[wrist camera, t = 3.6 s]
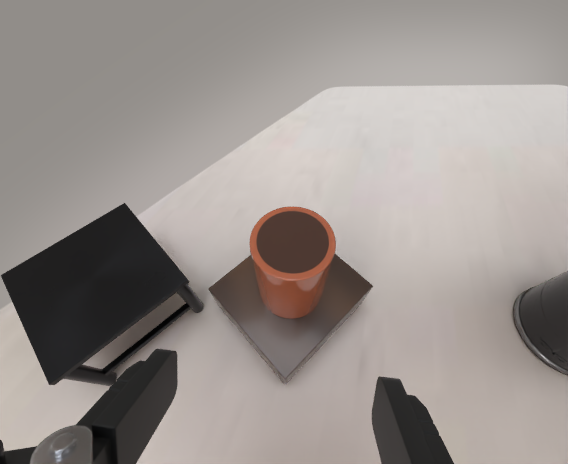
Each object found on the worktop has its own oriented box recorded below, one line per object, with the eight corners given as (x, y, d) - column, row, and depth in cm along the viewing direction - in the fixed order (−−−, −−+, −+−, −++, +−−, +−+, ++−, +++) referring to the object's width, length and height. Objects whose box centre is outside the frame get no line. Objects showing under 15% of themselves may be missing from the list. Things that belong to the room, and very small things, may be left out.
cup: (291, 248, 30) (293, 192, 23) (335, 288, 28) (353, 241, 20) (246, 286, 28) (231, 238, 21) (290, 333, 26) (291, 299, 18)
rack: (154, 241, 37) (124, 202, 30) (208, 307, 32) (187, 279, 25) (59, 304, 32) (0, 275, 26) (106, 391, 28) (48, 384, 21)
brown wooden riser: (293, 242, 37) (294, 219, 32) (361, 302, 32) (373, 285, 28) (218, 305, 32) (208, 288, 28) (285, 384, 28) (285, 379, 24)
